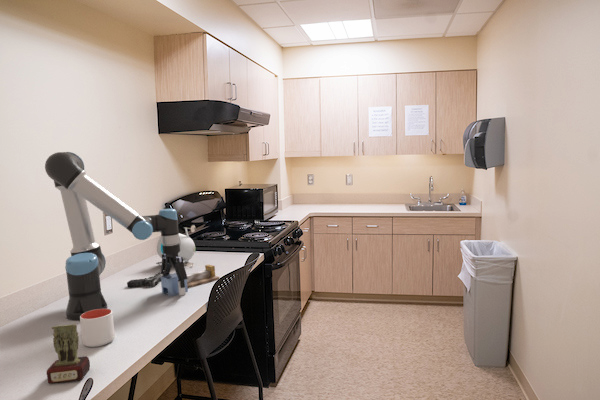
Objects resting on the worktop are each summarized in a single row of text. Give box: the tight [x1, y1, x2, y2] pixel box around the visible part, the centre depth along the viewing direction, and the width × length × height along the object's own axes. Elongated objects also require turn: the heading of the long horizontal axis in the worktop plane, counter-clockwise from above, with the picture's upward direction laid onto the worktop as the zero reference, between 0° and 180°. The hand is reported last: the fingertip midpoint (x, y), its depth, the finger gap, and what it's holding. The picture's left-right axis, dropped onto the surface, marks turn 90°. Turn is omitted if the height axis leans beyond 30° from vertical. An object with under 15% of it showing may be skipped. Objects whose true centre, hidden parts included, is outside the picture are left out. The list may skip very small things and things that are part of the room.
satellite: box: [155, 224, 197, 268], centre depth 262 cm, size 23×20×25 cm
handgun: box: [126, 271, 163, 289], centre depth 230 cm, size 20×3×14 cm
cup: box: [79, 308, 116, 348], centre depth 158 cm, size 10×10×10 cm
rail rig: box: [187, 264, 221, 289], centre depth 224 cm, size 20×12×6 cm, turn 136°
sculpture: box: [46, 324, 91, 384], centre depth 134 cm, size 10×8×15 cm
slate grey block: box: [160, 272, 189, 298], centre depth 209 cm, size 9×6×8 cm
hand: (175, 292), depth 209 cm, fingers open, 11 cm apart
